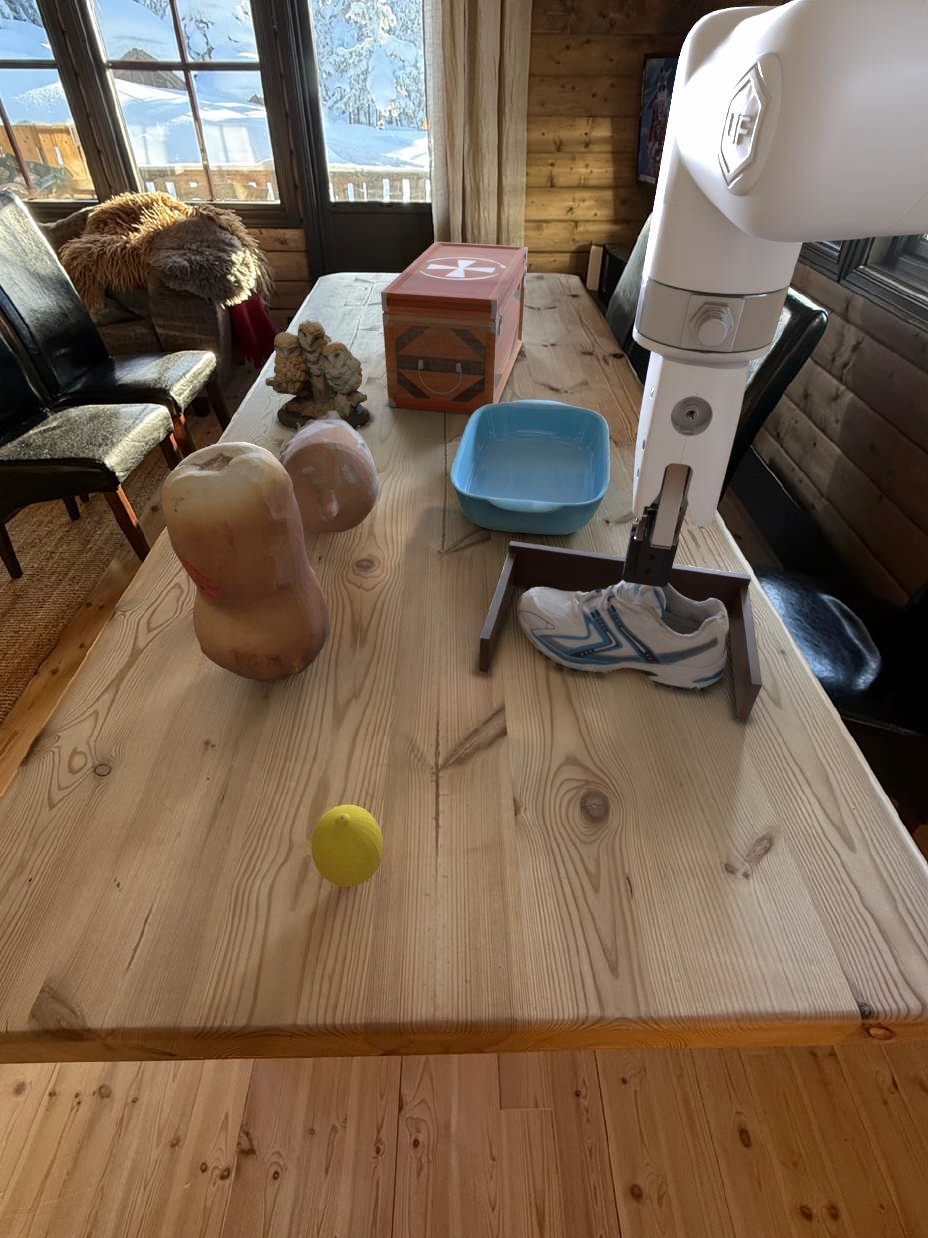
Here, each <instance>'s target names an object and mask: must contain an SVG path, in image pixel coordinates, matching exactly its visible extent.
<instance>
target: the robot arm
mask: <svg viewBox="0 0 928 1238" xmlns="http://www.w3.org/2000/svg"><path fill="white" fill-rule="evenodd" d="M677 63H678V64H677V68H676V73H675V80H674V85H673V92H672V98H671V104H670V110H669V114H668V115H669V116H668V121H667V127H666V134H665V139H664V145H663V151H662V156H661V163H660V170H659V176H658V180H657V181H658V182H657V187H656V193H655V197H654V198H655V199H654V205H653V211H652V215H651V216H652V217H651V223H650V228H649V236H648V240H647V246H646V252H645V259H644V265H643V271H642V278H641V283H640V289H639V294H638V301H637V307H636V312H635V319H634V325H633V329H632V338H633V340H634V341H635V342H636V343H637V344H638V345H639V346H641V347H642V348H644V349H646V350H648V351H650V356H649V362H648V367H647V372H646V378H645V384H644V390H643V396H642V401H641V407H640V414H639V420H638V427H637V435H636V441H635V442H636V443H635V452H634V453H635V454H634V466H633V467H634V470H633V490H632V514H633V515H634V517H636V519H635V523H631V527H630V533H629V537H628V542H627V546H626V547H627V548H626V551H625V556H624V557H625V562H624V568H623V570H624V571H623V580H624V581H625V582H628V583H635V584H641V585H648V586H655V587H666V586H667V585H668V581H669V578H670V574H671V570H672V566H673V564H675V563H674V562H675V560H676V559H675V558H676V555H677V551H678V547H679V543H680V534H681V530H682V527H683V523H684V519H685V517H686V515H687V514H686V513H687V510H689V515H690V518H691V523H692V527H699V528H700V529H704V530H706V529H707V528H709V527H710V526H712V524H714V521H715V516H716V513H717V510H718V509H717V508H718V505H719V501H720V497H721V492H722V490H723V489H722V488H723V485H724V481H725V478H726V477H725V476H726V474H727V473H726V472H727V468H728V465H729V461H730V457H731V453H732V449H733V446H734V441H735V437H736V433H737V429H738V425H739V420H740V417H741V416H740V415H741V412H742V407H743V401H744V397H745V391H746V386H747V380H748V375H749V374H748V373H749V368H750V361H751V362H752V361H755V360H758V359H760V358H764V357H765V356H766V355H767V354H768V353H770V351H771V348H772V345H773V341H774V339H775V336H776V332H777V329H778V325H779V322H780V319H781V315H782V312H783V309H784V305H785V303H786V300H787V299H786V298H787V297H788V292H789V290H790V284H791V281H792V279H793V275H794V273H795V267H796V264H797V262H798V259H799V256H800V253H801V249H802V246H803V243H817V242H832V241H833V242H834V241H835V242H836V241H848V240H862V239H866V238H881V237H899V236H913V235H914V236H915V235H928V0H791V1H789V2H787V3H785V4H783V5H772V6H771V5H759V6H740V7H729V8H725V9H724V8H723V9H719V10H715V11H712V12H710V13H708V14H706V15H704V16H703V17H701V18H700V19H699V20H698V21H696V23H695V24H694V25H693V27H692V28H691V30H690V31H689V32H688V34H687V36H686V38H685V41H684V42H683V45H682V48H681V52H680V56H679V58H678V62H677Z"/></svg>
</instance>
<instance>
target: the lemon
mask: <svg viewBox="0 0 928 1238" xmlns="http://www.w3.org/2000/svg"><path fill="white" fill-rule="evenodd" d="M383 838H384V837H383V834H382V829H381V827H380V826H379V823H378V822H377V820H376V819H375V818H374V816H373V815H372V814H371V813H370V812H369V811H368V810H367V809H365V808H363V807H361V806H358V805H355V804H341V805H337V806H335V807H332V808H330V809H329V810H328V811H326V812H324V814H323V815H322V816H321V817H320V818H319V819H318V822H317V823H316V825H315V827H314V830H313V833H312V837H311V857H312V860H313V863H314V866H315V868H316V870H317V871H318V873H319V874H320V875H321V877H323V879H324V880H326V881H327V882H328V883H329V884H332V885H334V886H337V887H342V888H352V887H356V886H359V885H362V884H364V883H365V882H366V881H368V880H370V879H371V877H373V875H374V874H375V873H376V872H377V870H378V869H379V867H380V865H381V861H382V859H383V856H384V839H383Z"/></svg>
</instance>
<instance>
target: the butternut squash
mask: <svg viewBox="0 0 928 1238" xmlns="http://www.w3.org/2000/svg"><path fill="white" fill-rule="evenodd" d="M161 508H162V513H163V516H164V522H165V526H166V529H167V533H168V537H169V540H170V545H171V548H172V549H173V552H174V553H175V555H176V557H177V559H178V560H179V562H180V564H181V565H182V567H183V569H184V570H185V571H186V573H187V574H188V576H189V577H190V579H191V581H192V582H193V583H194V585H195V587H196V592H195V595H194V602H193V609H192V621H193V629H194V633H195V636H196V639H197V641H198V644H199V647H200V651H201V653H203V655H205V657H207V658H208V659H209V660H210V661H211V662H213V663H214V664H215V665H217V666H218V667H219V668H221V669H224V670H227V671H228V672H230V673H232V674H234V675H236V676H239V677H241V678H244V679H248V680H253V681H257V682H259V683H264V682H274V681H278V682H284V681H286V680H287V679H288V678H291V677H292V676H295V675H301V674H302V673H303V672H304V671H305V670H307V669H308V668H309V667H310V665H312V663H313V662H314V661H315V660H316V659H317V657H318V656H319V654H320V653H321V652H322V650H323V649H324V647H325V645H326V642H327V639H328V637H329V635H330V633H331V631H330V609H329V606H328V602H327V599H326V596H325V592H324V589H323V588H322V586H321V584H320V582H319V580H318V578H317V576H316V573H315V571H314V569H313V568H312V566H311V564H310V561H309V559H308V556H307V550H306V544H305V535H304V527H303V526H302V519H301V515H300V512H299V508H298V505H297V501H296V498H295V495H294V492H293V484H292V481H291V478H290V476H289V474H288V473H287V472H286V470H285V469H284V468H283V466H282V465H281V463H280V462H279V461H278V458H277V457H276V456H275V455H274V454H273V453H272V452H270V451H269V450H268V449H267V448H264V447H262V446H260V445H256V444H254V443H252V442H248V441H233V442H221V443H214V444H211V445H209V446H206V447H204V448H201V449H199V450H196V451H194V452H192V453H190V454H189V455H188V456H186V457H185V458H183V460H181V461H180V462H179V463H178V464H177V466H175V467H174V469H173V470H172V471H171V472H170V473H169V474H168V475H167V477H166V479H165V481H164V483H163V485H162V490H161Z"/></svg>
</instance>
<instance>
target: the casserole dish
mask: <svg viewBox="0 0 928 1238" xmlns="http://www.w3.org/2000/svg"><path fill="white" fill-rule="evenodd" d="M609 429H610V428H609V425H608V422H607V419H605V417H604V416H603V415H602V414H600V413H599V412H597V411H595V410H593V409H589V408H586V407H579V406H574V405H571V404H567V403H564V402H560V401H555V400H548V399H547V400H546V399H518V400H514V401H508V402H507V401H505V402H503V401H502V402H498V403H493V404H488V405H485V406H483V407H481V408H479V409H477V410H476V411H475V412H474V413H473V414H470V417H469V418H468V421H467V422H466V425H465V427H464V429H463V432H462V436H461V438H460V441H459V444H458V447H457V450H456V453H455V456H454V460H453V461H452V462H453V463H452V465H451V471H450V481H451V485H452V487H453V490H454V493H455V496H456V499H457V502H458V505H459V506H460V510H461V511H462V513H463V515H464V516H465V517H466V518H467V519H468V520H469V521H470V522H471V523H473V524H475V525H477V526H479V527H480V528H483V529H488V530H493V531H500V532H508V533H519V534H521V533H525V534H533V535H534V534H535V535H547V536H561V535H563V536H564V535H569V534H572V533H575V532H578V531H579V530H582V528H584V527H585V526H587V525H588V524H589V523H590V522H591V520H592V519H593V518H594V516H595V514H596V513H597V511H598V509H599V507H600V505H601V504H602V501H603V500H604V497H605V495H606V493H607V492H608V489H609V485H610V477H611V476H610V475H611V457H610V449H611V448H610V430H609Z"/></svg>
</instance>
